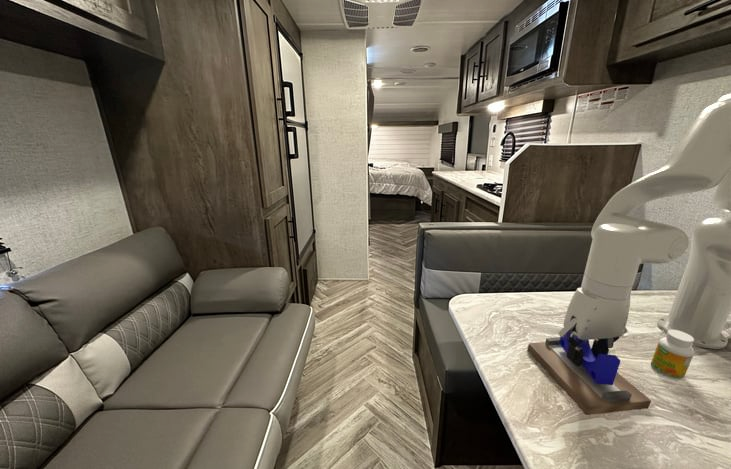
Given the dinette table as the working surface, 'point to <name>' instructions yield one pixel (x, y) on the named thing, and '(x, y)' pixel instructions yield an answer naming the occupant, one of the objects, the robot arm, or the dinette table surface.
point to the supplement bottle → (673, 355)
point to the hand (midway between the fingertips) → (585, 359)
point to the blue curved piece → (596, 363)
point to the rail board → (586, 382)
